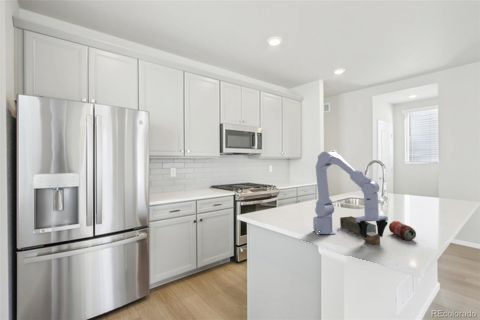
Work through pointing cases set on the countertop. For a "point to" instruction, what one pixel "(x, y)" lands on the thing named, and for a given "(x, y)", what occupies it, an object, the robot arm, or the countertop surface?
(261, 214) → the countertop surface
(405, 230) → the beverage can
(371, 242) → the walnut block
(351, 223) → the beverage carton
